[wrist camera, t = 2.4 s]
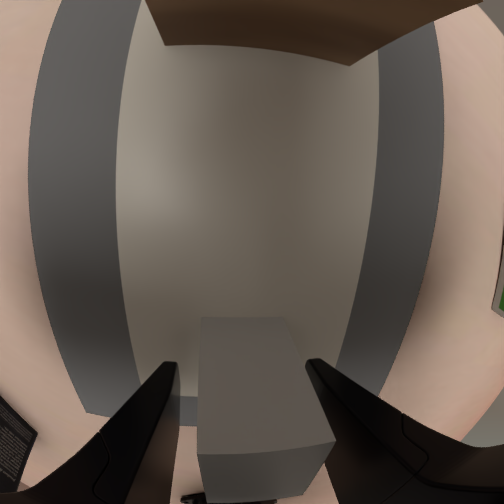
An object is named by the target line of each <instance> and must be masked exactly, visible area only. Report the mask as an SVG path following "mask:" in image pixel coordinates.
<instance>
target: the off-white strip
mask: <svg viewBox="0 0 504 504" xmlns="http://www.w3.org/2000/svg"><path fill="white" fill-rule="evenodd" d="M378 124H379V66H378V50H376V51H374V52H373V53H371V54H369V55H367V56H366V57H364V58H362V59H361V60H359V61H357V62H356V63H354V64H353V65H351V66H346V65H343V64H339V63H335V62H331V61H327V60H323V59H319V58H314V57H309V56H304V55H299V54H294V53H288V52H282V51H275V50H268V49H260V48H250V47H238V46H222V45H174V46H165V45H164V43H163V40H162V38H161V36H160V34H159V31H158V29H157V27H156V24H155V22H154V20H153V18H152V15H151V13H150V11H149V9H148V6H147V4H146V2H145V0H142V1H141V4H140V7H139V11H138V14H137V18H136V22H135V26H134V30H133V34H132V39H131V43H130V48H129V53H128V58H127V63H126V69H125V75H124V81H123V88H122V96H121V104H120V113H119V123H118V136H117V154H116V222H117V240H118V253H119V264H120V274H121V282H122V290H123V298H124V304H125V311H126V317H127V323H128V328H129V334H130V339H131V344H132V349H133V354H134V358H135V363H136V367H137V371H138V375H139V379H140V383H141V385H142V384H143V383H144V382H145V381H146V380H147V379H148V378H149V376H150V375H151V374H152V373H153V372H154V371H155V370H156V369H157V368H158V367H159V366H160V365H161V363H162V362H164V361H175V362H177V363H178V367H179V375H180V385H181V389H180V396H194V397H198V406H197V456H198V462H199V467H200V472H201V477H202V482H203V486H204V491H205V495H206V500H207V503H239V502H254V501H264V500H273V499H280V498H287V497H293V496H299V495H303V493H304V492H305V491H306V489H307V488H308V486H309V485H310V483H311V482H312V480H313V479H314V477H315V476H316V474H317V473H318V471H319V469H320V468H321V466H322V465H323V463H324V461H325V460H326V458H327V456H328V455H329V453H330V451H331V449H332V448H333V446H334V444H335V442H336V439H335V437H334V434H333V432H332V430H331V427H330V425H329V423H328V420H327V418H326V416H325V413H324V411H323V409H322V406H321V404H320V402H319V399H318V397H317V395H316V392H315V390H314V388H313V385H312V383H311V381H310V378H309V376H308V374H307V371H306V369H305V364H306V361H307V360H308V359H312V358H321V359H322V360H324V361H325V362H327V363H328V364H330V365H331V366H332V367H334V368H335V366H336V363H337V360H338V357H339V354H340V350H341V347H342V343H343V340H344V336H345V333H346V329H347V326H348V322H349V318H350V314H351V310H352V306H353V302H354V298H355V293H356V289H357V285H358V280H359V275H360V271H361V266H362V261H363V255H364V250H365V244H366V238H367V232H368V226H369V220H370V213H371V205H372V198H373V189H374V180H375V170H376V158H377V144H378Z"/></svg>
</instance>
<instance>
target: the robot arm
mask: <svg viewBox="0 0 504 504" xmlns="http://www.w3.org/2000/svg"><path fill="white" fill-rule="evenodd" d="M305 369H306V371H307V374H308V376H309V378H310V381H311V383H312V385H313V388H314V390H315V392H316V395H317V397H318V399H319V402H320V404H321V406H322V409H323V411H324V413H325V416H326V418H327V420H328V423H329V425H330V427H331V430H332V432H333V434H334V437H335V439H336V442H335V444H334V446H333V448H332V449H331V451H330V453H329V455H328V456H327V458H326V460H325V461H324V463H325V466H326V469H327V472H328V474H329V477H330V480H331V483H332V486H333V488H334V491H335V494H336V497H337V500H338V502H339V504H504V444H502V445H497V446H492V447H482V448H481V447H473V446H469V445H467V444H464V443H462V442H459V441H457V440H455V439H452V438H450V437H448V436H445V435H443V434H441V433H439V432H437V431H435V430H433V429H430V428H428V427H426V426H424V425H423V424H421V423H419V422H417V421H416V420H414V419H412V418H411V417H409V416H407V415H406V414H404V413H402V412H401V411H399V410H398V409H396V408H394V407H393V406H391V405H390V404H388V403H386V402H385V401H383V400H382V399H380V398H379V397H377V396H376V395H374V394H373V393H371V392H370V391H368V390H366V389H365V388H363V387H362V386H360V385H359V384H357V383H356V382H354V381H353V380H351V379H350V378H349V377H347V376H346V375H344V374H343V373H341V372H340V371H338V370H337V369H335V368H334V367H332V366H331V365H330V364H328V363H327V362H325V361H324V360H322V359H321V358H312V359H308V360H307V361H306V364H305ZM180 389H181V385H180V375H179V367H178V363H177V362H175V361H164V362H162V363H161V365H160V366H159V367H158V368H157V369H156V370H155V371H154V372H153V373H152V374H151V375H150V376H149V378H148V379H147V380H146V381H145V382H144V383H143V384H142V385H141V386H140V387H139V388H138V389H137V391H136V392H135V393H134V394H133V395H132V396H131V397H130V398H129V399H128V400H127V401H126V402H125V403H124V404H123V406H122V407H121V408H120V409H119V410H118V411H117V412H116V413H115V414H114V415H113V416H112V417H111V418H110V419H109V421H108V422H107V423H106V424H105V425H104V426H103V427H102V428H101V429H100V430H99V432H100V433H99V432H97V433H96V434H95V435H94V436H93V437H92V438H91V439H90V440H89V441H88V442H87V443H86V444H85V445H84V446H83V447H82V448H81V449H80V450H79V451H78V452H77V453H76V454H75V455H74V456H72V457H71V458H70V459H69V460H68V461H66V462H65V463H64V464H63V465H61V466H60V467H59V468H58V469H56V470H55V471H54V472H52V473H51V474H50V475H48V476H47V477H46V478H44V479H43V480H42V481H40V482H39V483H38V484H36V485H35V486H33V487H31V488H29V489H26V490H24V491H20V492H12V493H0V504H170V496H171V487H172V479H173V471H174V464H175V457H176V450H177V443H178V436H179V425H180ZM181 503H184V504H275V503H277V499H273V500H264V501H254V502H239V503H207V500H206V495H205V494H200V495H194V496H188V497H182V498H181Z"/></svg>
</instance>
